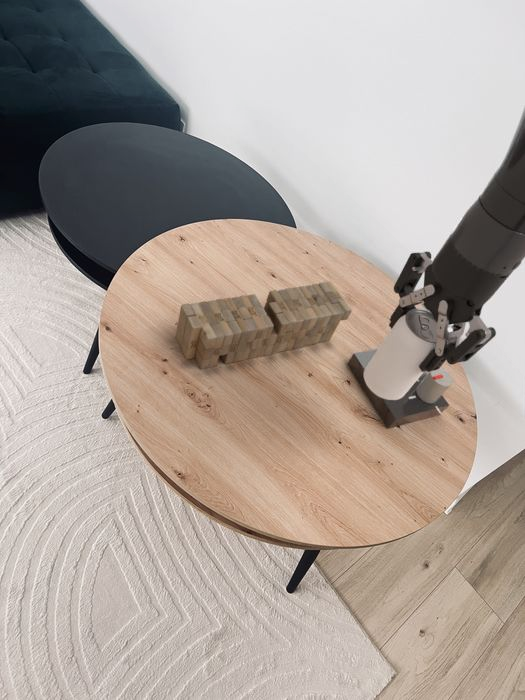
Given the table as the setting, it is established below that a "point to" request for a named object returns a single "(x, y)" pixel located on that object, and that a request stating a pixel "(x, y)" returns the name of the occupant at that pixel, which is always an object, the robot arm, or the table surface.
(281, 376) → the table surface
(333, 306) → the block tower
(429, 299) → the robot arm
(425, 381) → the knob
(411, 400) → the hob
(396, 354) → the can
